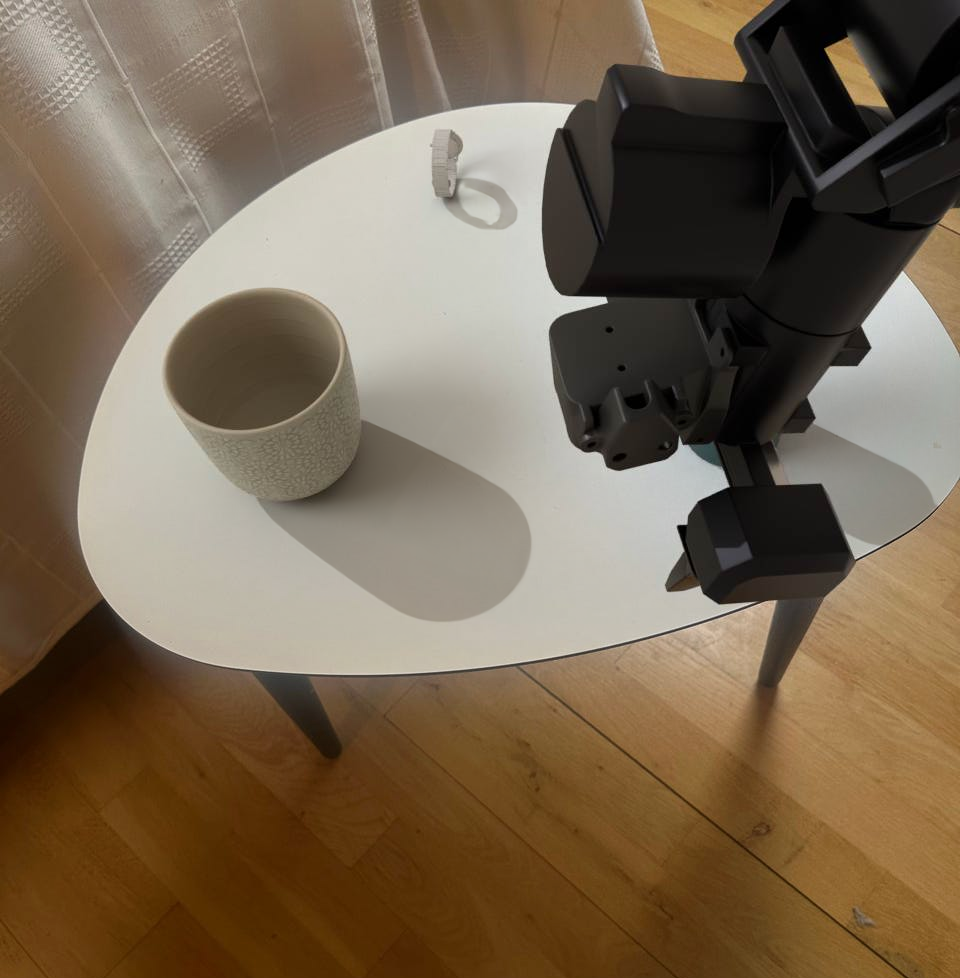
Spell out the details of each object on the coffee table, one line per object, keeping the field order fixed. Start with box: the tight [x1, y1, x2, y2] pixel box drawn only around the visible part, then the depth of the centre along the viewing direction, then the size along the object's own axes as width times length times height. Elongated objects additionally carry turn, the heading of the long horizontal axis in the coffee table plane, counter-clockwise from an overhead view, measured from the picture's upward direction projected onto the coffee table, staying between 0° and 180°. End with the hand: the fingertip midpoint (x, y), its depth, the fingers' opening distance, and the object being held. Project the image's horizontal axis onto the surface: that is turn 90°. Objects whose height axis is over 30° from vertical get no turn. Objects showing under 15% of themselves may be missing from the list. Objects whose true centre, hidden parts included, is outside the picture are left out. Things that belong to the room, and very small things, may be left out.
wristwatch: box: [429, 128, 464, 198], centre depth 78 cm, size 3×5×5 cm, turn 173°
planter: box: [161, 287, 362, 502], centre depth 64 cm, size 12×12×11 cm
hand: (650, 513), depth 48 cm, fingers open, 9 cm apart
